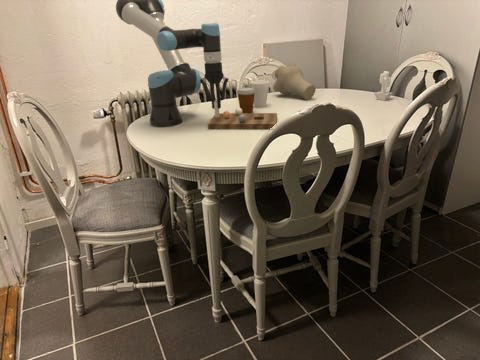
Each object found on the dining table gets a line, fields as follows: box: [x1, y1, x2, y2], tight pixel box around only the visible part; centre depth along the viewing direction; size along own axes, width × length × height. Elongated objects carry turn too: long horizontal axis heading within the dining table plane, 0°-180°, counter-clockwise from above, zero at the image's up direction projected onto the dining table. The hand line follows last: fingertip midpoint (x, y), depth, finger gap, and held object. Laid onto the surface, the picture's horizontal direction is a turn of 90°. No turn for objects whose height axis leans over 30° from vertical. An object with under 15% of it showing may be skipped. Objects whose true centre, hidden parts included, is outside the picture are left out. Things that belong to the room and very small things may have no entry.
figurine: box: [373, 70, 394, 101], centre depth 192 cm, size 7×9×15 cm
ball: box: [222, 110, 231, 118], centre depth 162 cm, size 3×3×3 cm
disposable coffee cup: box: [236, 86, 256, 113], centre depth 179 cm, size 10×10×12 cm
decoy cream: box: [234, 107, 242, 115], centre depth 167 cm, size 3×3×3 cm
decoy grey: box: [238, 114, 246, 122], centre depth 156 cm, size 3×3×3 cm
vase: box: [272, 62, 316, 101], centre depth 204 cm, size 22×22×28 cm
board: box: [207, 112, 278, 130], centre depth 163 cm, size 30×18×2 cm, turn 83°
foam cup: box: [250, 79, 270, 109], centre depth 189 cm, size 10×9×13 cm
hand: (217, 115), depth 163 cm, fingers closed
